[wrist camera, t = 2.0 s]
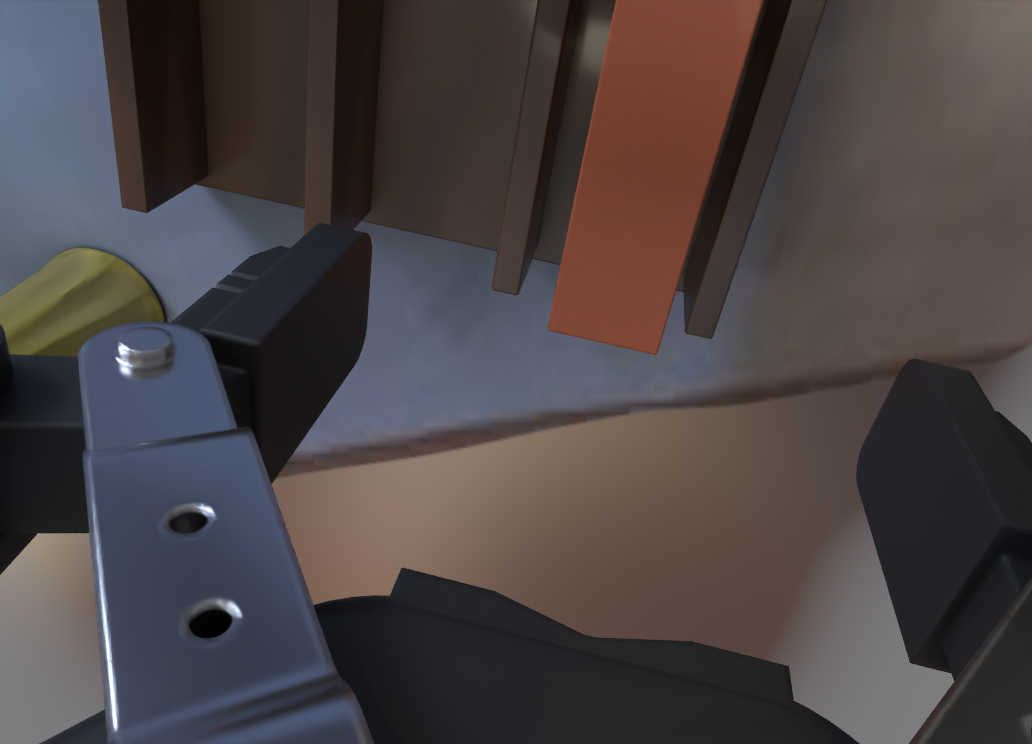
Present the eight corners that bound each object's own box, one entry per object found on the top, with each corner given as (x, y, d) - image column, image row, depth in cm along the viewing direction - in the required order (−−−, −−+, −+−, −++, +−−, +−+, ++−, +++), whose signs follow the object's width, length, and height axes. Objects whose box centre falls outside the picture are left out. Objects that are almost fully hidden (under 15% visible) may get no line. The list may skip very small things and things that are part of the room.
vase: (123, 380, 40) (-112, 587, 28) (24, 291, 38) (-272, 472, 26) (191, 319, 38) (-36, 519, 26) (88, 220, 36) (-209, 386, 24)
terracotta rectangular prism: (585, 200, 30) (546, 334, 21) (642, -65, 26) (624, -41, 16) (661, 217, 30) (656, 358, 21) (733, -46, 25) (767, -14, 16)
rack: (196, 177, 34) (61, 257, 26) (169, -265, 26) (-37, -331, 18) (703, 289, 32) (712, 406, 25) (841, -141, 24) (915, -156, 17)
